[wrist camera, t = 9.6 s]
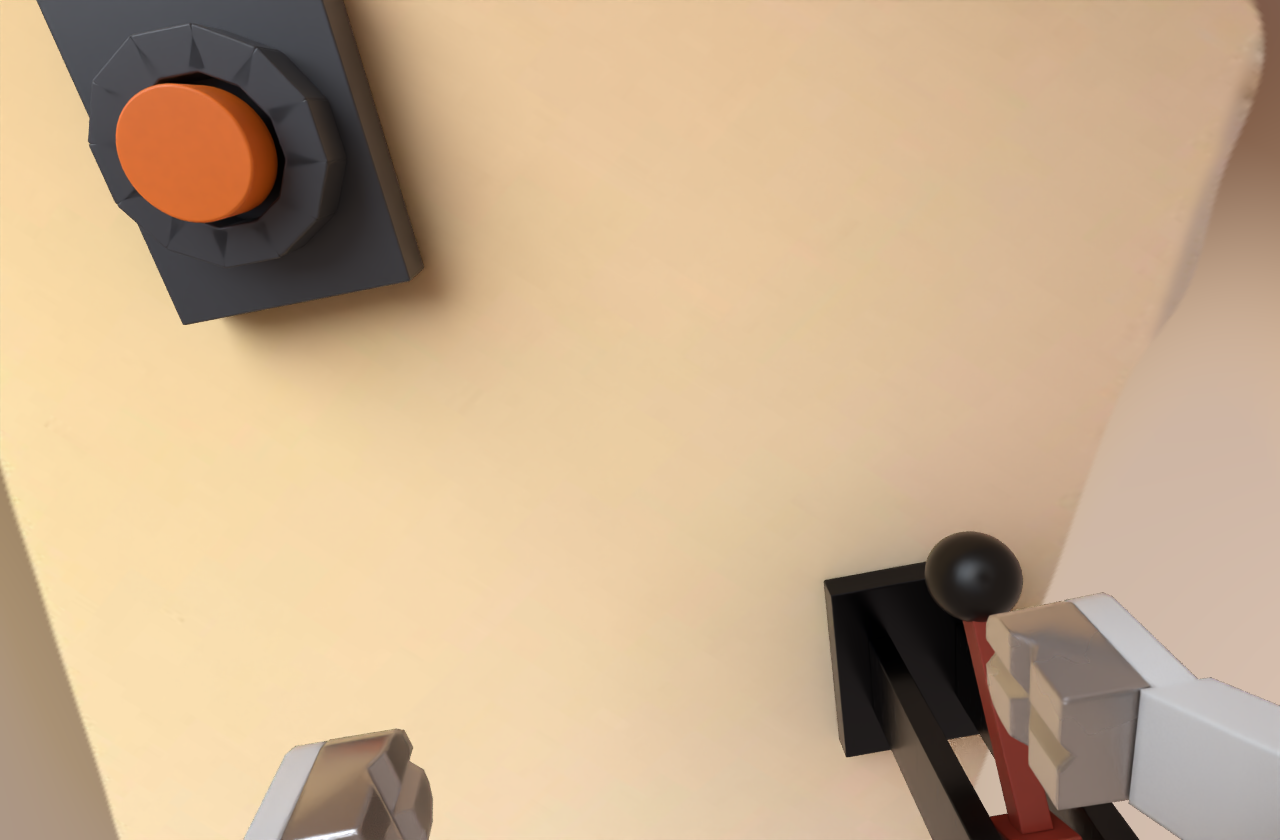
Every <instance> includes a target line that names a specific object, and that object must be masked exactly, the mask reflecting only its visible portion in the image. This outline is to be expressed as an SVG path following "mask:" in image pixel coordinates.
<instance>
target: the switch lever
mask: <svg viewBox="0 0 1280 840" xmlns="http://www.w3.org/2000/svg"><path fill="white" fill-rule="evenodd" d="M925 581H926V585H927V588H928V591H929V593H930V595H931V597H932V598H933V600H934V601H935V602H936V603H937V605H938V606H939V607H940V608H941V609H943V610H944V611H945V612H946V613H948V614H950V615H951V616H953V617H955V618H957V619H960V620H963V624H964V628H965V633H966V637H967V641H968V646H969V650H970V654H971V658H972V663H973V667H974V671H975V676H976V680H977V684H978V689H979V693H980V697H981V701H982V706H983V710H984V714H985V719H986V723H987V727H988V731H989V736H990V740H991V744H992V749H993V753H994V757H995V761H996V766H997V770H998V774H999V779H1000V782H1001V787H1002V791H1003V796H1004V800H1005V804H1006V809H1007V813H1008V814H1003V815H997V816H991V817H990V818H991V820H992V822H993V824H994V826H995V828H996V829H997V831H998V833H999V835H1000V837H1001V838H1002V840H1083V839H1082V837H1081V836H1080V835H1079V834H1078V833H1077V832H1075V831H1074V830H1073V829H1072V828H1070V827H1069V826H1068V825H1067V824H1066V823H1064V822H1063V821H1062V820H1061V819H1059V818H1058V817H1057V816H1056V815H1055V814H1053V813H1052V812H1051V811H1050V810H1049V806H1048V802H1047V798H1046V794H1045V790H1044V788H1043V787H1042V785H1041V783H1040V782H1039V780H1038V779H1037V777H1036V776H1035V774H1034V773H1033V771H1032V769H1031V768H1030V766H1029V765H1028V752H1029V746H1027V745H1025V744H1023V743H1022V742H1020V741H1018V740H1016V739H1015V738H1013V737H1011V736H1010V735H1009V733H1008V732H1007V730H1006V728H1005V727H1004V725H1003V724H1002V722H1001V720H1000V718H999V716H998V714H997V712H996V710H995V707H994V705H993V703H992V699H991V695H990V692H989V688H988V684H987V669H986V664H987V662H988V661H989V660H990V658H991V657H992V656H993V654H994V653H995V651H994V650H993V648H992V647H991V645H990V644H989V642H988V641H987V639H986V623H987V620H988V618H989V615H994V614H999V613H1004V612H1009V611H1010V610H1011V609H1012V608H1013V607H1014V606H1015V604H1016V603H1017V601H1018V599H1019V597H1020V594H1021V591H1022V585H1023V576H1022V570H1021V567H1020V564H1019V562H1018V560H1017V558H1016V557H1015V555H1014V554H1013V553H1012V551H1011V550H1010V549H1009V548H1008V547H1007V546H1006V545H1005V544H1004V543H1002V542H1001V541H999V540H998V539H996V538H994V537H992V536H990V535H987V534H984V533H980V532H959V533H955V534H952V535H950V536H948V537H946V538H944V539H942V540H941V541H940V542H939V543H937V545H936V546H935V547H934V548H933V549H932V551H931V552H930V554H929V556H928V558H927V561H926V565H925Z"/></svg>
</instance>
